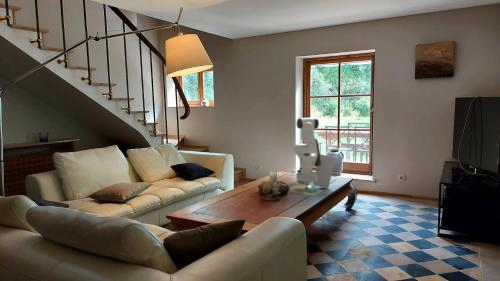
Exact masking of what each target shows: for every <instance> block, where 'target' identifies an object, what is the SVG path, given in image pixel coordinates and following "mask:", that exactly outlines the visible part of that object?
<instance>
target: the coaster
mask: <svg viewBox="0 0 500 281" xmlns="http://www.w3.org/2000/svg"><path fill="white" fill-rule="evenodd" d="M306 190H308V191H310V192H312V193H315V192H317V190H319V188H318V187H317V186H313V184H312V185H311V184H309V186H307V187H306Z"/></svg>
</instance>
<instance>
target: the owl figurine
mask: <svg viewBox="0 0 500 281" xmlns="http://www.w3.org/2000/svg"><path fill="white" fill-rule="evenodd" d="M278 185H279V184H278V183H277V182H274V181H273V180H272V179H270V180H267V182H265V184H264V185H263V187H262V192H263V193H264V195H263V196H262V198H261V199H262V200H263V201H267V202H278V201H280V200H281V198H280V197H279V195H280V194H281V191H280V189H279V186H278Z"/></svg>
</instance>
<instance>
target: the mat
mask: <svg viewBox="0 0 500 281" xmlns="http://www.w3.org/2000/svg"><path fill="white" fill-rule="evenodd" d="M323 192H325V190H324V189H318V190H317V192H315V193H312V192H310V191H306V192H304V193H302V195H304V196H305V195H306V196H312V197H315V196H317V195H319V194H321V193H323Z"/></svg>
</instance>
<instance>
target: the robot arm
mask: <svg viewBox="0 0 500 281" xmlns="http://www.w3.org/2000/svg"><path fill="white" fill-rule="evenodd" d="M295 123H296V124H295V126H296V128H298V129H299V130H300V140H301V141H302V142H304V143H297V144H294V145H293V148H292V151H293V153H294V154H295V155H296V156H297V158H298V160H299V169H297V171H296V176H295V177H296V178H295V179H296V180H297V181H299V182H303V184H304V185H305V186H309V185H310V183H313V182H317V181H318V177H317V173H316V171H313V170H312V169H313V167H317V166H320V165H321V163H322V160H321V156H320V154H321V152H320V146H319V141H318V139H317V138H316V137H315V130H316V129H318V128H319V126H320V121H319V119H318V118H315V117H314V118H312V117H301V118H297V120H296V122H295ZM313 154H315V155H313Z"/></svg>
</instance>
